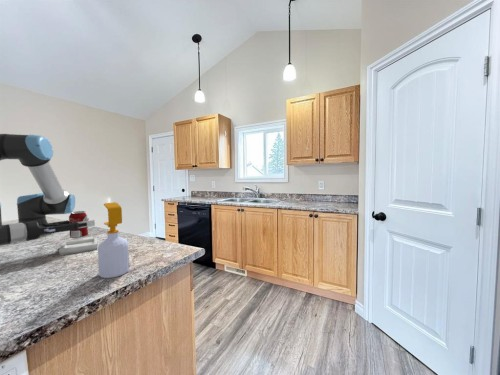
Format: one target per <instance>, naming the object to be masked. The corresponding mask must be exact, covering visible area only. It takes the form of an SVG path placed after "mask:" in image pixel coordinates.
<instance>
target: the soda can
mask: <svg viewBox="0 0 500 375" xmlns="http://www.w3.org/2000/svg"><path fill="white" fill-rule="evenodd" d="M69 214H70V215H69V216H68V221H69V224H71V223H77V222H82V221H87V218H88V214H87V213H86V210H77V211H73V212H71V213H69ZM74 227H75V226H74ZM78 229H79V230H70V231H69V238H70V239H73V240H81V239H85V238H86V237H88V235H89V227H83V228H78Z"/></svg>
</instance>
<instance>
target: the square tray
mask: <svg viewBox="0 0 500 375" xmlns="http://www.w3.org/2000/svg"><path fill="white" fill-rule="evenodd" d="M97 243H99V242H98V236H97V237H91V238H80V239H73V240H67V241H63V242H62V244H61V245H60V247H59V248H58V251H59V252H58V253H59V256H64V255H72V254H76V253H84V252H89V251H98V244H97Z"/></svg>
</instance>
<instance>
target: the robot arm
mask: <svg viewBox="0 0 500 375" xmlns="http://www.w3.org/2000/svg"><path fill="white" fill-rule="evenodd" d="M53 156H54V150H53V146H52V144H51V142H50V141H49V139H48V138H46V137H45V136H42V135H38V134H13V133H0V161H3V160H18V161H19V162H20V164H21V165H22V166H23V167H26V168H28V169H29V171H30V173H31V175H32V177H33V178H34V180H35V181H36V184H37V185H38V186H39V188H40V190H41V193H35V194H34V193H33V194H25V195H19V196H18V197H17V199H16V206H17V208H16V209H17V218H18V219H17V220H18V222H16V223H8V224H3V220H2V203H0V246H4V245H10V244H13V245H17V244H18V243H21V242H25V241H27V242H28V241H34V240H38V239H39V238H40V235H43V234H45V235H48V234H49V235H52V234H56V233H62V232H68V231H69V232H70V230H79V229H78V228H83V227H88V228H89V227H95V226H96V225H95V224H96V223H95V219H92V220H89V217H87V221H82V222H77V223H71V224H69V219H68V220H67V219H66V220H63V221H62V220H61V221H55V222H48V220H47V216H49V215H50V216H51V215H52V216H55V215H67V214H71V212H74V211H75V207H76V196H75V195H74V194H69V191H67V190H66V189H63V187H62V184H61V183H60V181H59V178H58V177H57V175H56V173H55V171H54V168H53V167H52V165H51V163H50V161H51V159H52V157H53ZM74 226H75V227H74Z"/></svg>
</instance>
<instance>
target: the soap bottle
mask: <svg viewBox="0 0 500 375" xmlns="http://www.w3.org/2000/svg"><path fill="white" fill-rule="evenodd" d="M103 206H104V207H105V208H106V209H107V216H108V217H107V219H108V221H107V222H104V223H103V224H104V225H106V226H107V227H108V228H109V230H108V231H107V232H106V233H107V235H106V236H107V237H106V239H104V240H102V241H101V242H100V243H99V244H98V246H97V257H98V261H97V262H98V275H99V277H100V278H103V279H112V278H116V277H117V278H118V277H120V276H123V275H125V274H127V273H129V271H130V256H129V255H130V254H129V253H130V252H129V251H130V250H129V242H128V240H127V239H125V238H123V237H122V236H121V237H120V236H119V229H116V228H117V227H118V224H119V225H120V224H122V223H123V214H122V213H123V212H122V211H123V210H122V209H123V208H122V206H121V205H120V204H119V203H118V202H116V201H115V202H107V203H106V202H105V203H103Z"/></svg>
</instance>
